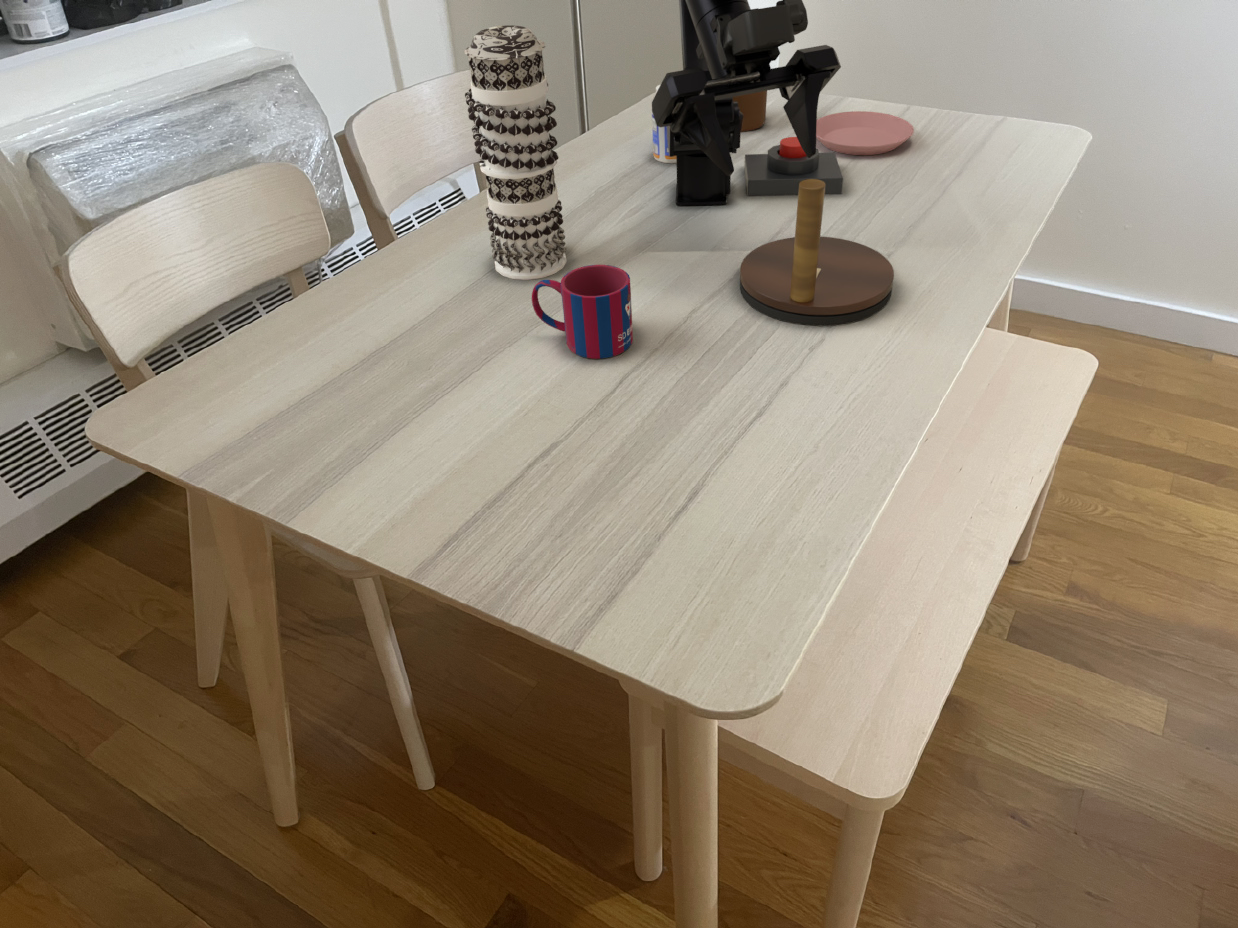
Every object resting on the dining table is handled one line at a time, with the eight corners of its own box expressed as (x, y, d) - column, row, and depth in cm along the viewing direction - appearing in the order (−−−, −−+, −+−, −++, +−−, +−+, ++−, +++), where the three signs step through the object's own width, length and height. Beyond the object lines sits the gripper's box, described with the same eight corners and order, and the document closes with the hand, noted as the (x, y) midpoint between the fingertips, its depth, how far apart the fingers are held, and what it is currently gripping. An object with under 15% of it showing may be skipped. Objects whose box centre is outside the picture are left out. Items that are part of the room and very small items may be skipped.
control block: (747, 196, 115) (748, 166, 113) (744, 170, 122) (745, 140, 119) (841, 194, 114) (844, 163, 112) (832, 167, 121) (836, 138, 119)
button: (780, 160, 115) (781, 146, 113) (778, 150, 117) (779, 136, 116) (808, 159, 114) (809, 146, 113) (805, 149, 117) (807, 136, 116)
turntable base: (743, 326, 90) (743, 318, 90) (736, 255, 103) (737, 247, 102) (903, 325, 89) (905, 316, 88) (878, 252, 101) (879, 244, 101)
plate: (790, 147, 128) (791, 133, 126) (841, 118, 136) (842, 104, 134) (881, 167, 120) (883, 153, 119) (929, 136, 128) (931, 122, 127)
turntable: (762, 236, 103) (769, 124, 95) (904, 254, 98) (923, 138, 90) (721, 301, 92) (724, 181, 84) (878, 326, 87) (897, 200, 79)
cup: (618, 364, 86) (614, 301, 82) (526, 348, 89) (517, 287, 85) (642, 329, 91) (640, 268, 87) (554, 315, 94) (547, 256, 90)
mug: (732, 145, 129) (734, 77, 123) (689, 136, 133) (689, 70, 127) (774, 120, 136) (778, 55, 130) (732, 112, 140) (734, 49, 134)
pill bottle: (697, 153, 128) (698, 82, 121) (679, 166, 124) (678, 94, 118) (665, 147, 130) (663, 78, 124) (646, 160, 127) (643, 89, 120)
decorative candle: (482, 254, 106) (446, 27, 90) (555, 239, 108) (533, 15, 92) (502, 288, 99) (467, 49, 83) (580, 270, 102) (560, 35, 86)
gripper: (660, -21, 79) (715, 142, 78) (840, -48, 84) (894, 105, 83) (630, 52, 90) (677, 196, 89) (791, 25, 95) (838, 161, 94)
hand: (772, 164), depth 88 cm, fingers open, 9 cm apart
